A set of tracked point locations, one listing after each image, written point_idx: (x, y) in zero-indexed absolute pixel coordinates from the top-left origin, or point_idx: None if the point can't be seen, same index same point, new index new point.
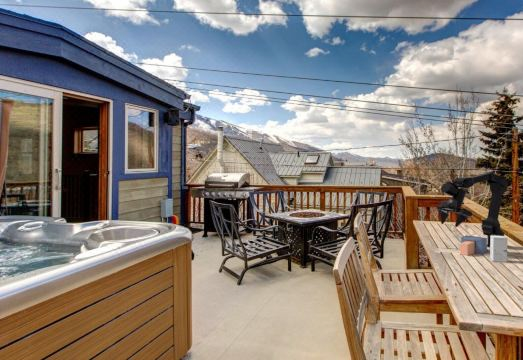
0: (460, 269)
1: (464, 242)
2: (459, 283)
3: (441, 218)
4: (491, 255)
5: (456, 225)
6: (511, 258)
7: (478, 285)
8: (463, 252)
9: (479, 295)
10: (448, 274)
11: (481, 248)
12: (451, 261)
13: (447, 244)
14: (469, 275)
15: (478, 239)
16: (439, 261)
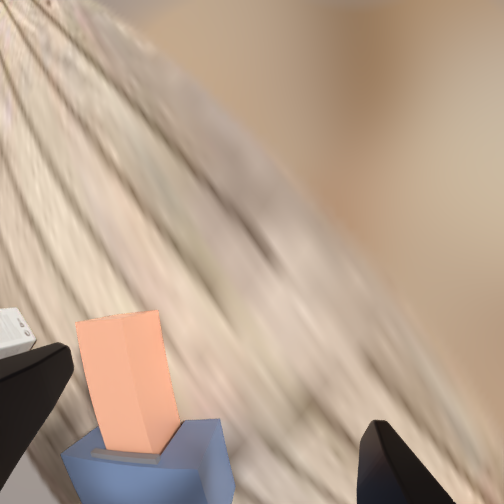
0: (56, 77)
1: (123, 378)
2: (42, 11)
3: (426, 490)
4: (10, 324)
5: (42, 354)
6: None
7: (11, 39)
8: (131, 313)
9: (11, 14)
10: (73, 18)
11: (91, 431)
12: (114, 125)
13: None
14: (29, 63)
15: (78, 462)
16: (151, 77)
